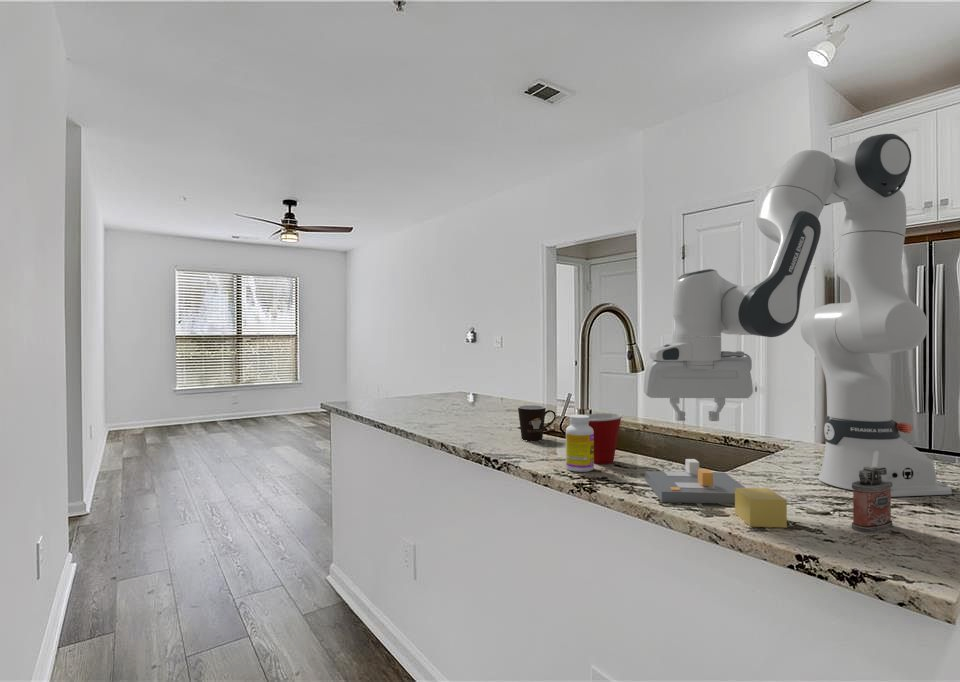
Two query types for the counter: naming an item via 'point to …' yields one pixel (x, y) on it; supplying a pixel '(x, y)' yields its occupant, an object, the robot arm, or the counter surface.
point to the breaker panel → (691, 487)
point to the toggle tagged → (705, 477)
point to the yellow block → (761, 507)
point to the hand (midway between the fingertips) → (697, 420)
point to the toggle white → (691, 466)
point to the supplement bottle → (579, 444)
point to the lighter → (872, 501)
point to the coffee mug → (533, 421)
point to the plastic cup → (605, 436)
